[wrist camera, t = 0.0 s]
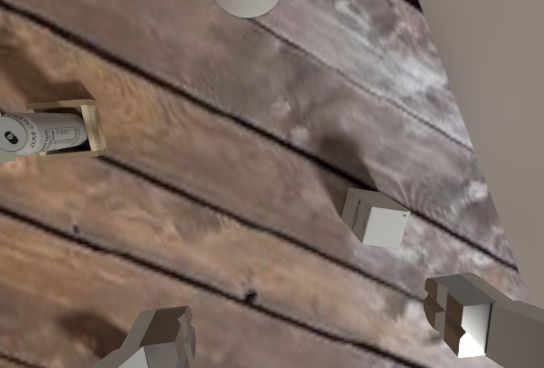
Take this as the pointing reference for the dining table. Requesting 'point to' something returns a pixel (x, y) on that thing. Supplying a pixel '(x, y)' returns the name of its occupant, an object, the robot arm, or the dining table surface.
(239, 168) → the dining table surface
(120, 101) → the dining table surface
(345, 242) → the dining table surface
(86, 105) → the birch holder
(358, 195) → the supplement box
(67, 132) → the energy drink can
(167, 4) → the dining table surface
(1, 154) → the sage socket
